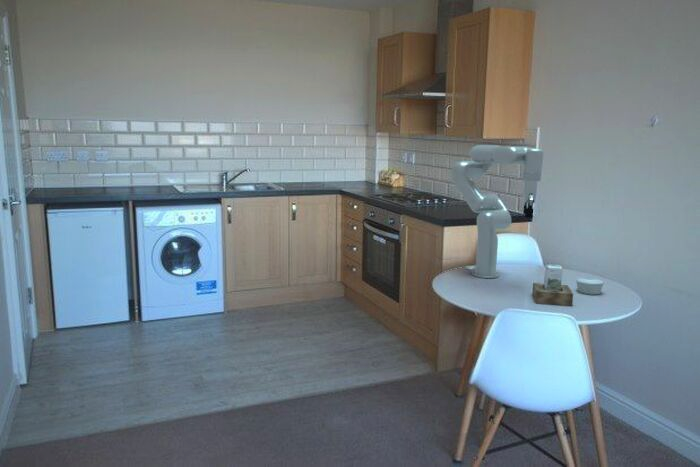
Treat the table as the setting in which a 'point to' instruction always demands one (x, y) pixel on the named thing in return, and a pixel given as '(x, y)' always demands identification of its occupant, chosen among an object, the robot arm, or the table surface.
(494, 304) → the table surface
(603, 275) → the table surface
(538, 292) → the socket block
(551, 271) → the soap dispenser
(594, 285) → the ramekin
